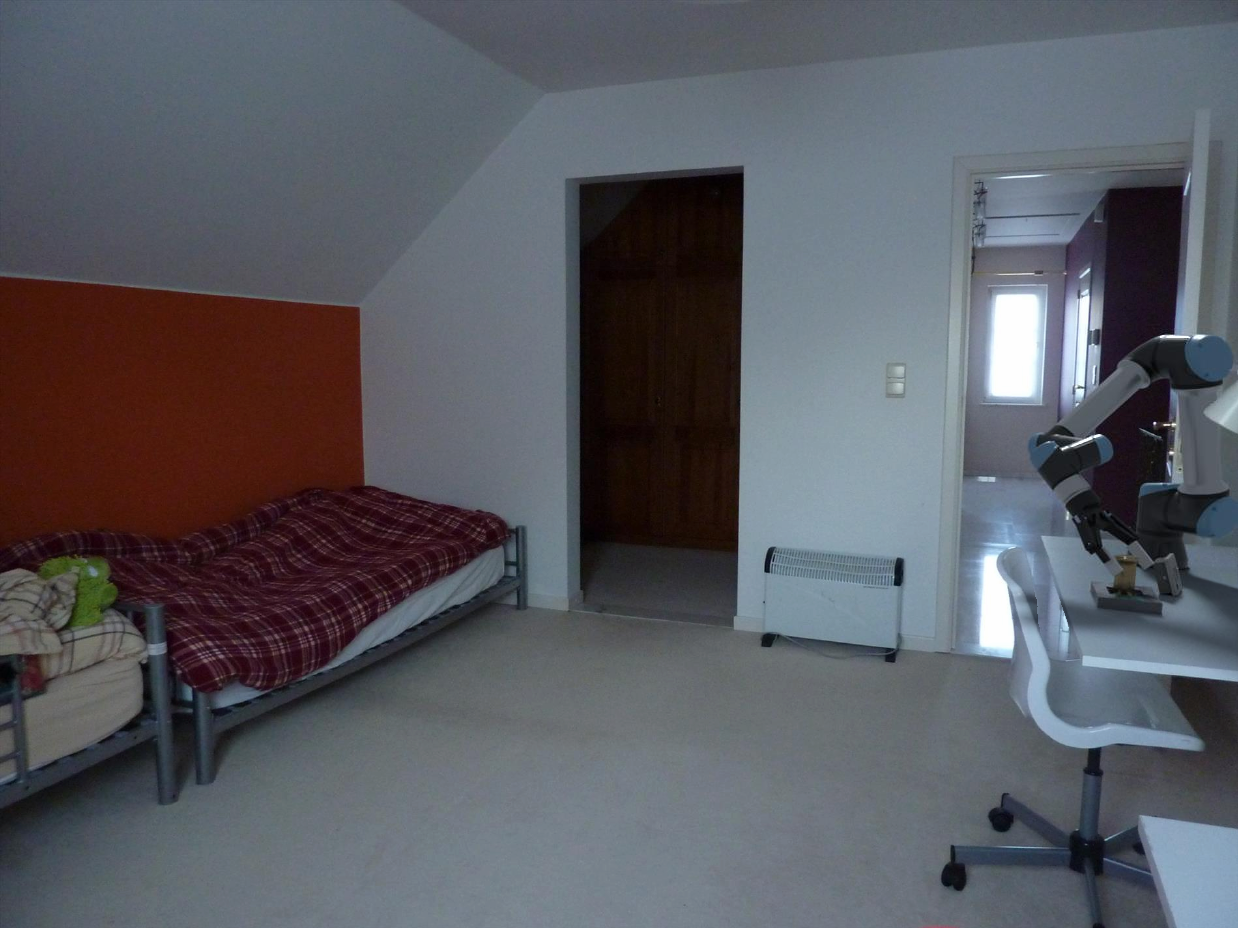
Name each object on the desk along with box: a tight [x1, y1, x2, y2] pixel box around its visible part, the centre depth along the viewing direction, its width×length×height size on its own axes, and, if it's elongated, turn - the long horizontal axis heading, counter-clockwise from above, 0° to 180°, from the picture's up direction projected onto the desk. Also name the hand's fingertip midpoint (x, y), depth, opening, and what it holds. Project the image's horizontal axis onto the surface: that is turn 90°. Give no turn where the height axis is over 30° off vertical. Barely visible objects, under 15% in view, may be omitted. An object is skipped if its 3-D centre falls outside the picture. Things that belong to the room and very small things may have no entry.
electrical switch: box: [1152, 553, 1183, 597], centre depth 228 cm, size 9×5×9 cm, turn 141°
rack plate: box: [1089, 580, 1164, 616], centre depth 217 cm, size 16×13×3 cm
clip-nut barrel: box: [1113, 554, 1139, 596], centre depth 216 cm, size 5×5×11 cm
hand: (1134, 570), depth 215 cm, fingers open, 13 cm apart
